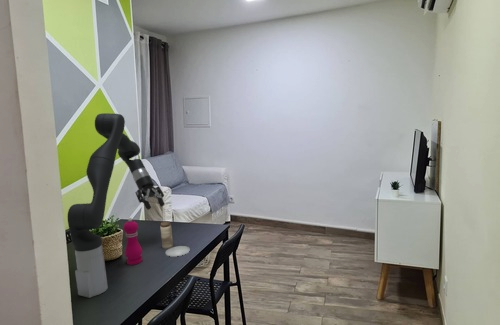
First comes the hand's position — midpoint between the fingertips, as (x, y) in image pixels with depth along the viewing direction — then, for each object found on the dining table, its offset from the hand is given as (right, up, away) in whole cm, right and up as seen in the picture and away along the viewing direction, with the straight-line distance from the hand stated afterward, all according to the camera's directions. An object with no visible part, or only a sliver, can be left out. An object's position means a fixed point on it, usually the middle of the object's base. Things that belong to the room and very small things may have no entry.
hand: (156, 207), depth 171 cm
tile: (+12, -20, -8) cm, 24 cm away
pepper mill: (-5, -22, -16) cm, 28 cm away
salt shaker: (+6, -19, -1) cm, 20 cm away
